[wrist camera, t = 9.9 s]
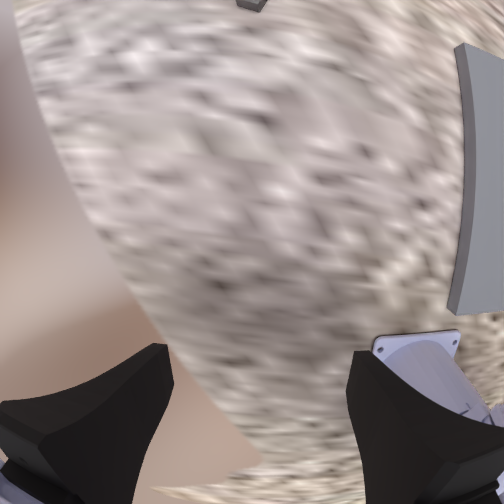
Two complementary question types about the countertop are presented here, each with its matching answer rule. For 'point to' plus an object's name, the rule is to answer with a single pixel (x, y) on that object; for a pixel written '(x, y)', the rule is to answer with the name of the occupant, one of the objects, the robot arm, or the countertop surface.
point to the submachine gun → (252, 4)
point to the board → (481, 186)
